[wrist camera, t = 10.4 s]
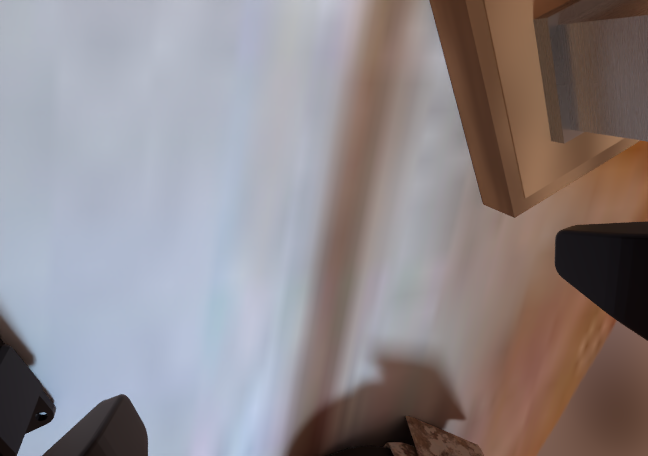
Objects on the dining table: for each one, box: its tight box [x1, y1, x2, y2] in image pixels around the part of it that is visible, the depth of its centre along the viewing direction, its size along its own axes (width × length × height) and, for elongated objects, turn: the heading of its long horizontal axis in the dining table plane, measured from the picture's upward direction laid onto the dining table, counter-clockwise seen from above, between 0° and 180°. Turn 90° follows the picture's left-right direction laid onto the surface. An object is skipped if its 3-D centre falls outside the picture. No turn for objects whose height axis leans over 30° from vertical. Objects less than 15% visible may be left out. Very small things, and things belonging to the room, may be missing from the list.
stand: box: [430, 0, 640, 218], centre depth 22 cm, size 12×12×3 cm
